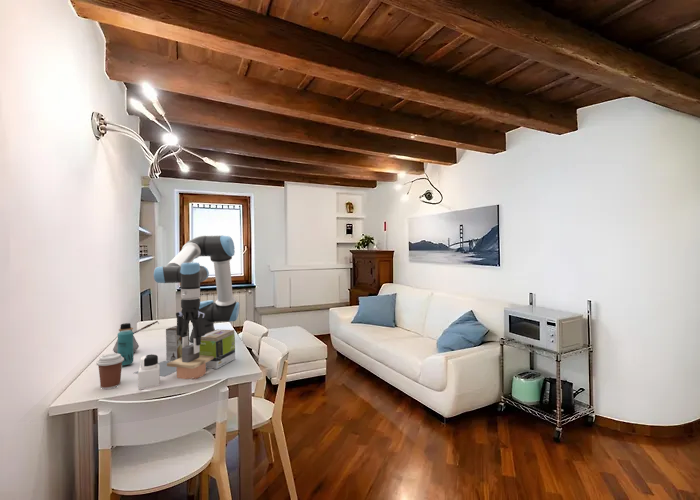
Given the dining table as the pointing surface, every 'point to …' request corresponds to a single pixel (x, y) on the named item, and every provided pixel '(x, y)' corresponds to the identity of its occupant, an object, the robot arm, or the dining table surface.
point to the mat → (165, 369)
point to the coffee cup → (110, 370)
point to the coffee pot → (133, 338)
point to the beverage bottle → (125, 344)
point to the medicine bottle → (148, 372)
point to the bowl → (191, 372)
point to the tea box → (218, 347)
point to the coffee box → (173, 344)
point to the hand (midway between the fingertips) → (191, 352)
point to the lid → (190, 358)
